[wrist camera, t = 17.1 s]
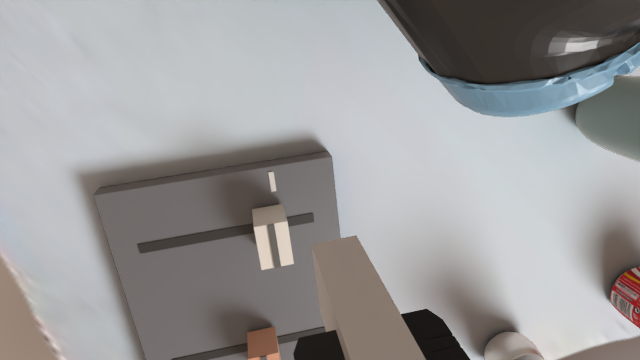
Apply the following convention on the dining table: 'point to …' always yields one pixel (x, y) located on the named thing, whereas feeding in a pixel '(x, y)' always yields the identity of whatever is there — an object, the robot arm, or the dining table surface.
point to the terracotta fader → (263, 345)
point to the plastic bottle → (511, 348)
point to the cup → (613, 117)
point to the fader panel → (219, 255)
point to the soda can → (627, 295)
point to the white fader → (272, 236)
